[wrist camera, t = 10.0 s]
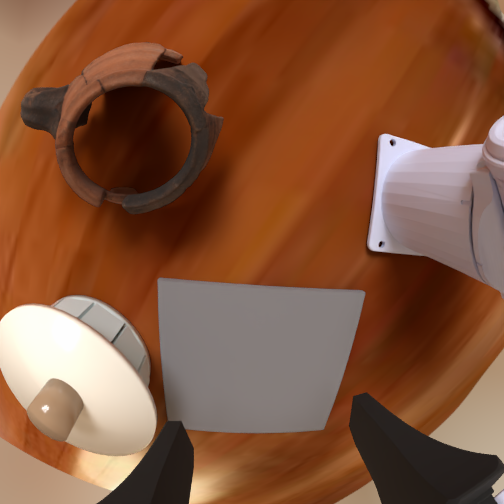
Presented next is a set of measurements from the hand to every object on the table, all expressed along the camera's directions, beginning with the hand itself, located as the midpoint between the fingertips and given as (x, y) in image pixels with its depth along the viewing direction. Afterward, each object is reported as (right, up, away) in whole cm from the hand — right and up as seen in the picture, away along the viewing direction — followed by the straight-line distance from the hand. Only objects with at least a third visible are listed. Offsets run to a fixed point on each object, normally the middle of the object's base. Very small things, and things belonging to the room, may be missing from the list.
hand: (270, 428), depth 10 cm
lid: (-13, -2, +4) cm, 14 cm away
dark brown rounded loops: (-8, +16, +6) cm, 19 cm away
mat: (0, -2, +10) cm, 10 cm away
